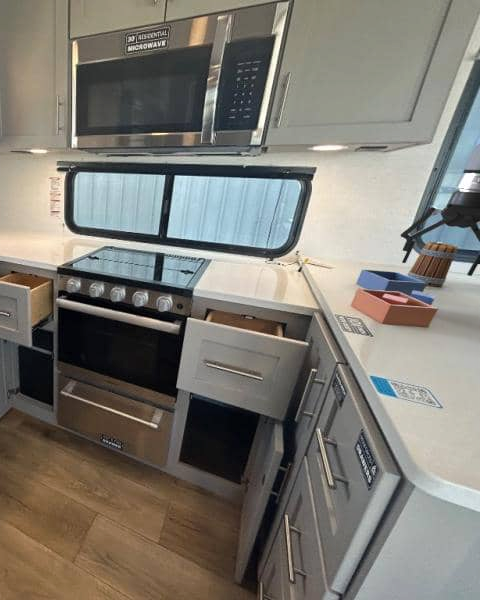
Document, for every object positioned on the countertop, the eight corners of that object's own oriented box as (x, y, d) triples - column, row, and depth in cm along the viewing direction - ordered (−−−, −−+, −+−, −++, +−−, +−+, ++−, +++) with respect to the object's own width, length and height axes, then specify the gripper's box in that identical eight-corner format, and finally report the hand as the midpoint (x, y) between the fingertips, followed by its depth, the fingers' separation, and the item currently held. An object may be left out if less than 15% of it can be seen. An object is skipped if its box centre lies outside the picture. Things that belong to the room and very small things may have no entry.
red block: (400, 315, 94) (408, 299, 92) (397, 319, 91) (405, 303, 89) (378, 308, 97) (385, 293, 95) (375, 313, 94) (382, 297, 92)
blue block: (427, 310, 100) (435, 295, 98) (426, 314, 97) (434, 298, 95) (405, 304, 103) (413, 290, 102) (403, 308, 100) (411, 293, 98)
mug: (443, 289, 121) (464, 249, 115) (405, 281, 127) (423, 243, 121) (440, 280, 132) (459, 243, 126) (405, 273, 138) (421, 238, 132)
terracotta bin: (428, 327, 88) (438, 308, 86) (381, 323, 89) (390, 305, 87) (391, 308, 100) (399, 291, 98) (350, 305, 100) (357, 288, 98)
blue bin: (419, 298, 109) (427, 283, 107) (382, 296, 110) (388, 280, 108) (390, 286, 121) (396, 271, 119) (356, 283, 121) (361, 269, 119)
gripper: (409, 186, 93) (378, 259, 101) (553, 197, 76) (501, 283, 84) (412, 186, 97) (382, 256, 106) (548, 196, 81) (499, 278, 89)
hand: (435, 268), depth 95 cm, fingers open, 13 cm apart
